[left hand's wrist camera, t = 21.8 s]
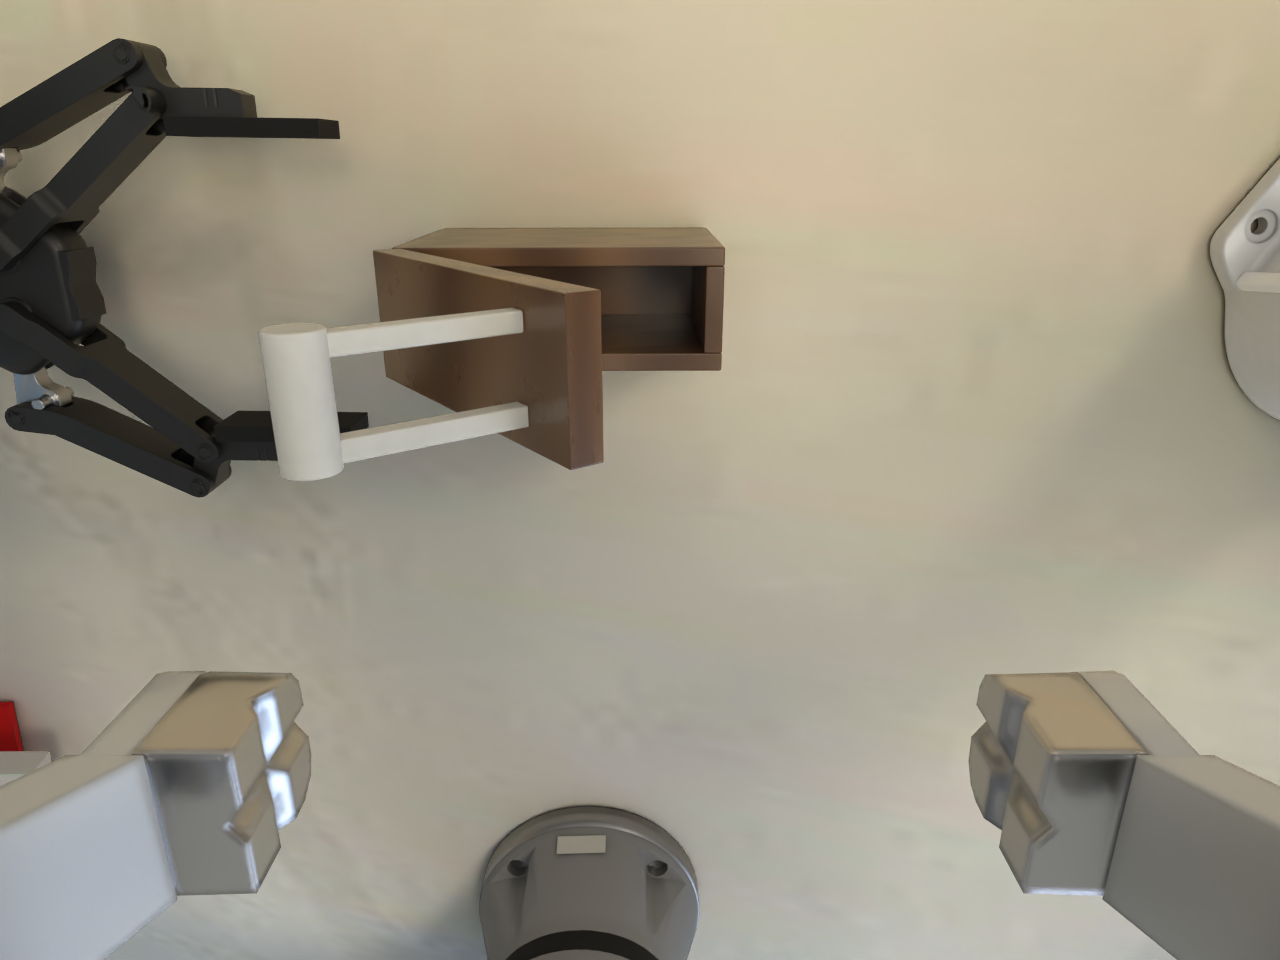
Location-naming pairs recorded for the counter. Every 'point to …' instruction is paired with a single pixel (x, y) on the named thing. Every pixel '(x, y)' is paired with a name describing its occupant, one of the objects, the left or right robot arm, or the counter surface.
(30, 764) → the toy
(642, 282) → the chest
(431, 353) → the door
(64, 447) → the counter surface
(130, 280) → the counter surface
